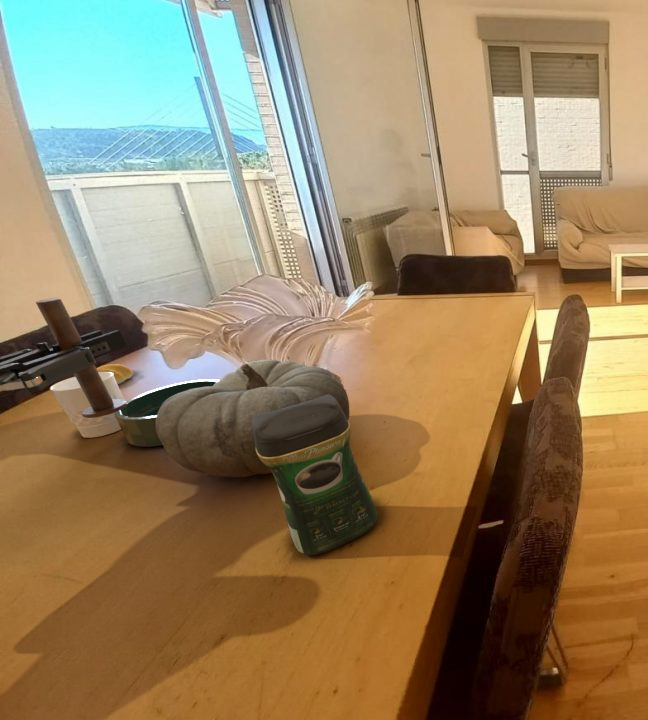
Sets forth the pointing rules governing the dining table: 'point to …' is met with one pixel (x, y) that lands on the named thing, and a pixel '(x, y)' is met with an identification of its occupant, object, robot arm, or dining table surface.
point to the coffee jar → (315, 473)
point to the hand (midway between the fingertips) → (111, 338)
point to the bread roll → (117, 371)
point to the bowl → (150, 412)
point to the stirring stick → (87, 377)
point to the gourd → (237, 414)
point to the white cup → (76, 402)
